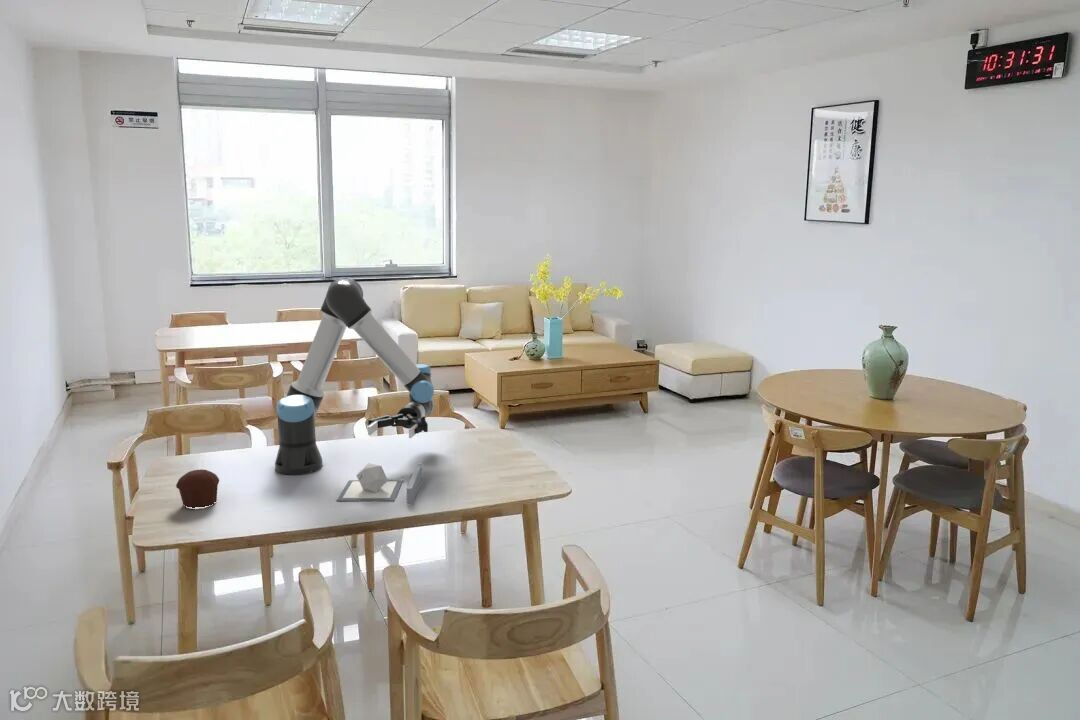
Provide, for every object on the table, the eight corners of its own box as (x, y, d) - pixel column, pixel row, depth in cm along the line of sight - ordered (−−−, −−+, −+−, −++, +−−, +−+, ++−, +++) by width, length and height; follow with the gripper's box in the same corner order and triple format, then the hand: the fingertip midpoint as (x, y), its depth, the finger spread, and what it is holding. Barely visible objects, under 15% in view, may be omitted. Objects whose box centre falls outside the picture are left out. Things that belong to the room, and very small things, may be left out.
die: (362, 486, 248) (348, 468, 241) (386, 470, 249) (373, 452, 243) (371, 503, 242) (357, 485, 235) (395, 487, 244) (382, 468, 237)
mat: (336, 501, 235) (336, 499, 235) (349, 481, 252) (348, 479, 252) (394, 501, 235) (393, 499, 235) (402, 481, 252) (402, 479, 252)
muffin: (215, 494, 241) (213, 462, 239) (226, 505, 232) (223, 472, 230) (173, 502, 234) (170, 470, 232) (182, 514, 225) (179, 481, 223)
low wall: (407, 504, 233) (406, 488, 232) (417, 478, 255) (416, 463, 254) (412, 504, 233) (412, 488, 232) (422, 478, 255) (421, 463, 254)
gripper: (446, 428, 272) (427, 446, 252) (376, 423, 276) (352, 440, 255) (446, 407, 271) (427, 423, 250) (376, 402, 275) (352, 418, 254)
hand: (389, 432), depth 253 cm, fingers open, 13 cm apart
